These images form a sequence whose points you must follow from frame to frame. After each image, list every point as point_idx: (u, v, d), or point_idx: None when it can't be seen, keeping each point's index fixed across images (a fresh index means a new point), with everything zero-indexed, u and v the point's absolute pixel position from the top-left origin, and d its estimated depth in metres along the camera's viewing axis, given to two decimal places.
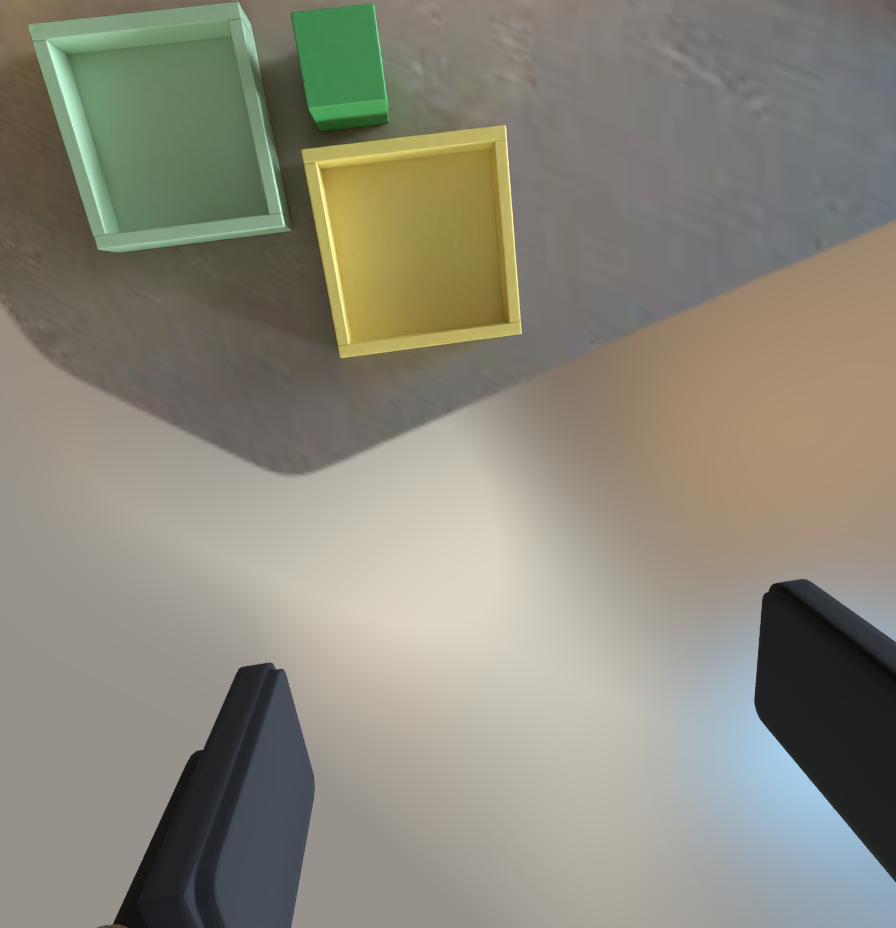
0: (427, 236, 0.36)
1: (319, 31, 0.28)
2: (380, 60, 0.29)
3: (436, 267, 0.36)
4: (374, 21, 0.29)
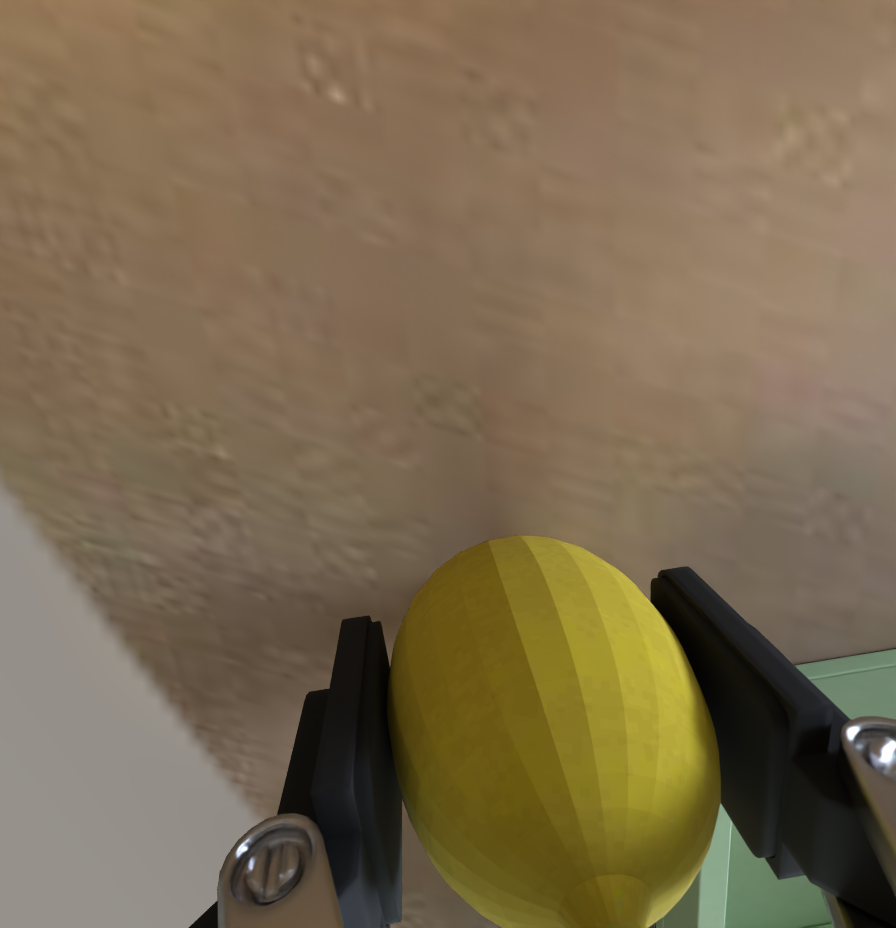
0: None
1: None
2: None
3: None
4: None
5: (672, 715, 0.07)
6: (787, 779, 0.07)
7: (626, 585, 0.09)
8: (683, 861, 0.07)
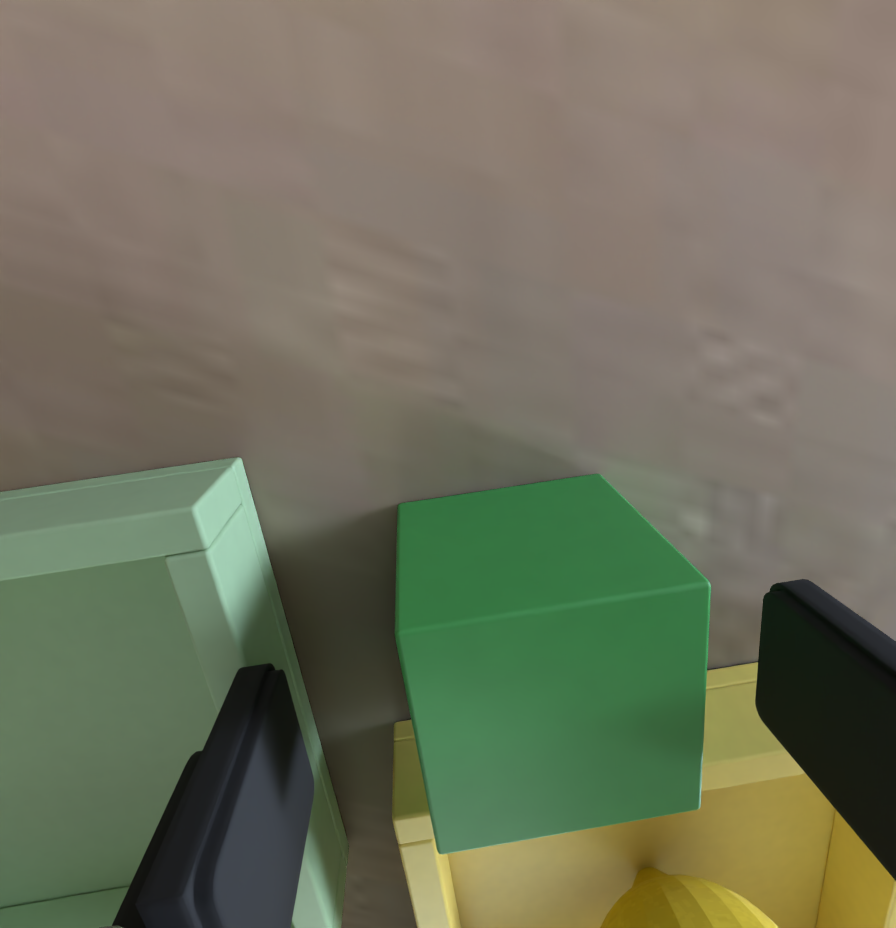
0: (672, 847, 0.15)
1: (497, 674, 0.08)
2: (702, 726, 0.08)
3: None
4: (705, 633, 0.08)
5: None
6: None
7: None
8: None
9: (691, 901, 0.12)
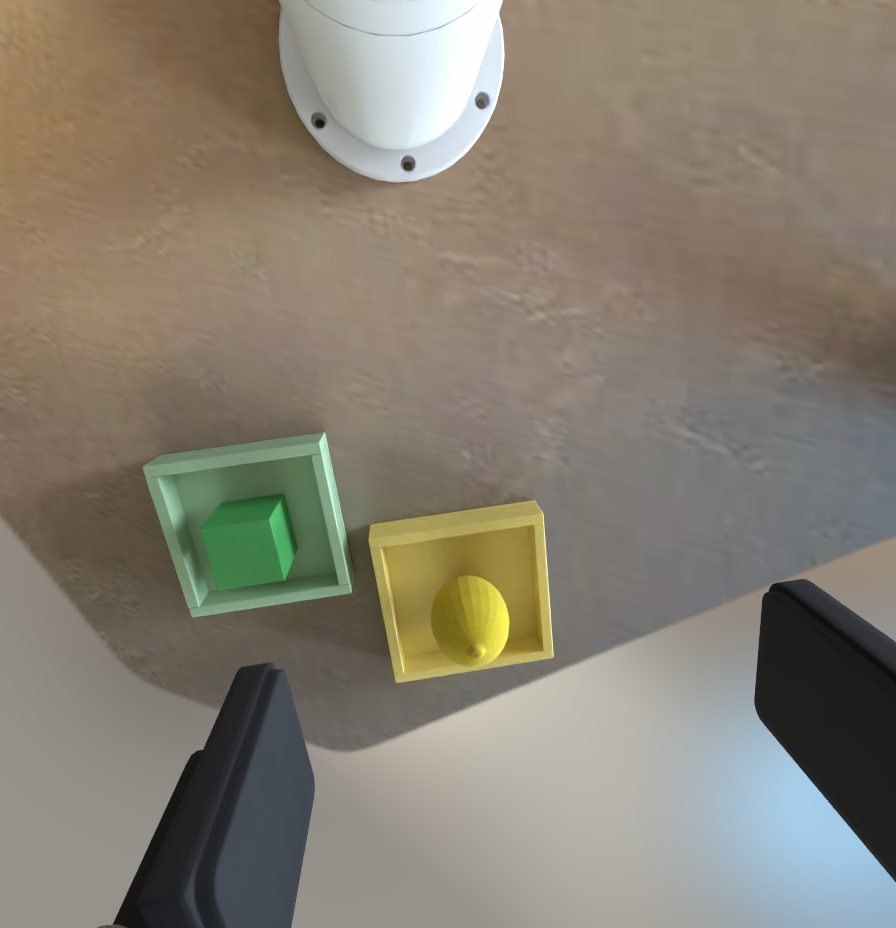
0: None
1: (223, 539, 0.33)
2: (277, 555, 0.34)
3: None
4: (270, 530, 0.34)
5: (492, 616, 0.35)
6: None
7: (491, 589, 0.37)
8: (492, 643, 0.34)
9: None
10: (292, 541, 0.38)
